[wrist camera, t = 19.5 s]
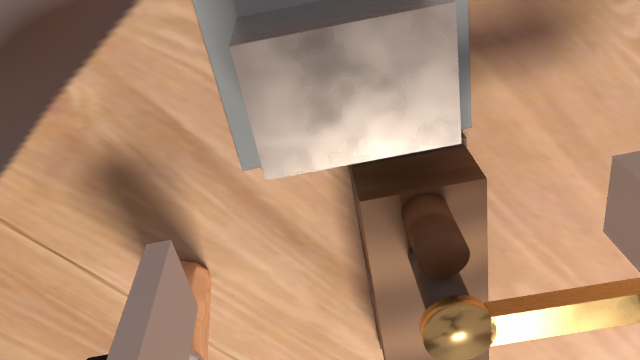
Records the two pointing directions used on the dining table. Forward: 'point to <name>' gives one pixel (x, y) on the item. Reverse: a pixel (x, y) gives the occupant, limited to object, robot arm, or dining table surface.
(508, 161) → the dining table surface
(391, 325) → the body
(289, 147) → the grey block on baseplate
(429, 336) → the lever
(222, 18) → the mat
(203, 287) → the milkshake
